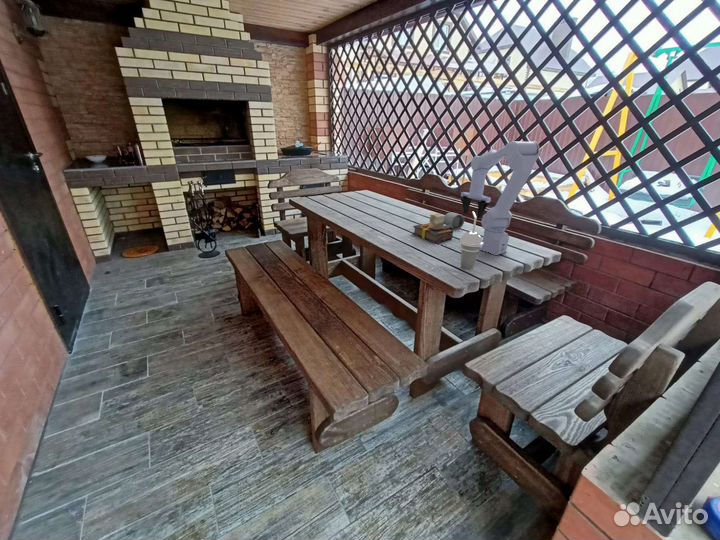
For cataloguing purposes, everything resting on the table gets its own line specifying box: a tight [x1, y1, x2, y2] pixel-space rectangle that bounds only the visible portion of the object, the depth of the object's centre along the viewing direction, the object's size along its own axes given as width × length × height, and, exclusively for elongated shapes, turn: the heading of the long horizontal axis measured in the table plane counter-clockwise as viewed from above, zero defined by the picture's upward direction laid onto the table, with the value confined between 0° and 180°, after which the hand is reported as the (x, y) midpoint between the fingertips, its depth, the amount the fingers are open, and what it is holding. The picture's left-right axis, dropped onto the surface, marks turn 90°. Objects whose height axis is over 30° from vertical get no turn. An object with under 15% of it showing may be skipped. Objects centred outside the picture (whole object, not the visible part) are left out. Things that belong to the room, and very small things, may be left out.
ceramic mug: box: [443, 212, 465, 230], centre depth 165 cm, size 11×8×8 cm
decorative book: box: [412, 223, 454, 244], centre depth 152 cm, size 11×16×5 cm
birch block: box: [429, 212, 446, 230], centre depth 150 cm, size 4×4×6 cm
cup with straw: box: [458, 211, 484, 271], centre depth 118 cm, size 8×9×20 cm
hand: (472, 215), depth 150 cm, fingers open, 7 cm apart
